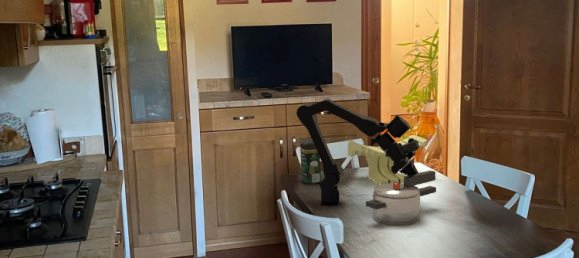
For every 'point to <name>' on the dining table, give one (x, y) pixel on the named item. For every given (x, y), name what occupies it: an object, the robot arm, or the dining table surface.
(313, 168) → the coffee jar
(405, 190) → the pressure cooker lid
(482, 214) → the dining table surface
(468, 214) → the dining table surface
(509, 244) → the dining table surface
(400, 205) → the pressure cooker pot
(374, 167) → the slatted curved stool
